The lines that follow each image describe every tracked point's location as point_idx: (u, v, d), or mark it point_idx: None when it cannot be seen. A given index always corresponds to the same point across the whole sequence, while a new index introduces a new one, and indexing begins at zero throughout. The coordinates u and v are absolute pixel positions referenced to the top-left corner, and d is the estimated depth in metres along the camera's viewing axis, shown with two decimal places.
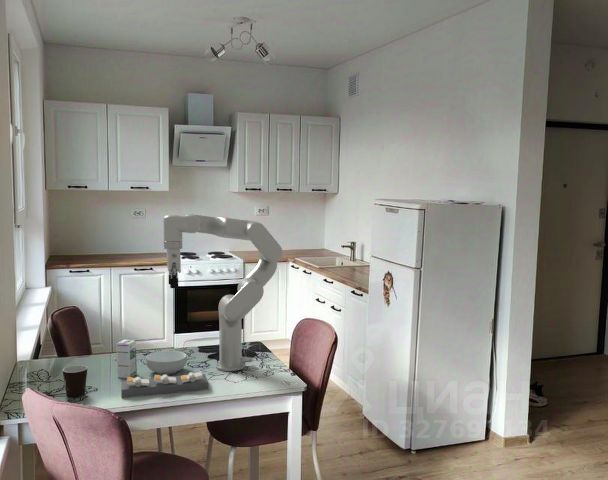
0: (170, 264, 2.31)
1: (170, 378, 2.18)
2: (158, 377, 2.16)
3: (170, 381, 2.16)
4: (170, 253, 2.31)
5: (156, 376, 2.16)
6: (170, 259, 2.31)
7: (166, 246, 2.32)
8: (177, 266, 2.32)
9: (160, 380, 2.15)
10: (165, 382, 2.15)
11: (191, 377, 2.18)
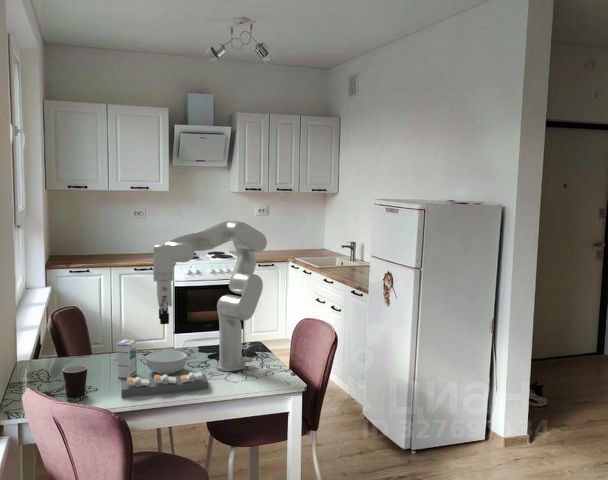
0: (160, 298, 2.13)
1: (170, 378, 2.18)
2: (158, 377, 2.16)
3: (170, 381, 2.16)
4: (160, 286, 2.14)
5: (156, 376, 2.16)
6: (160, 292, 2.13)
7: (156, 278, 2.15)
8: (168, 300, 2.14)
9: (160, 380, 2.15)
10: (165, 382, 2.15)
11: (191, 377, 2.18)
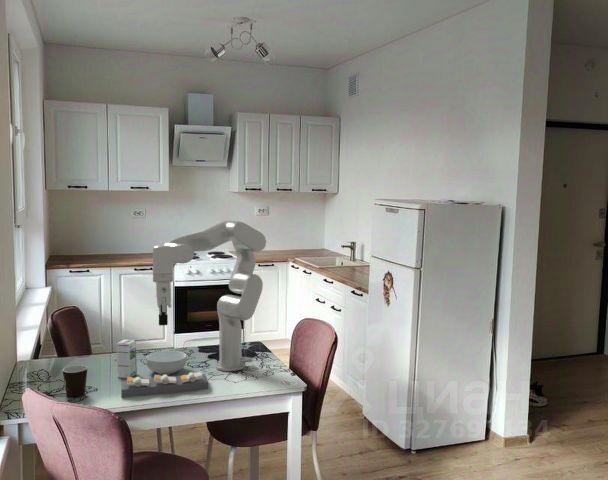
0: (159, 299, 2.13)
1: (170, 378, 2.18)
2: (158, 377, 2.16)
3: (170, 381, 2.16)
4: (159, 287, 2.13)
5: (156, 376, 2.16)
6: (159, 293, 2.13)
7: (155, 279, 2.14)
8: (167, 301, 2.14)
9: (160, 380, 2.15)
10: (165, 382, 2.15)
11: (191, 377, 2.18)
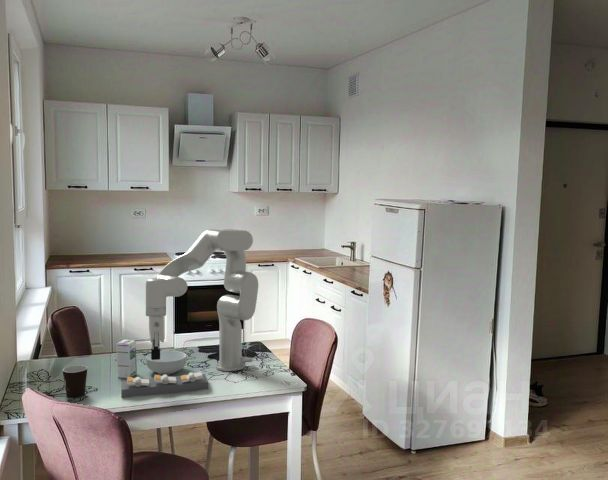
0: (152, 333, 2.09)
1: (170, 378, 2.18)
2: (158, 377, 2.16)
3: (170, 381, 2.16)
4: (152, 321, 2.10)
5: (156, 376, 2.16)
6: (152, 328, 2.09)
7: (148, 313, 2.11)
8: (160, 335, 2.10)
9: (160, 380, 2.15)
10: (165, 382, 2.15)
11: (191, 377, 2.18)
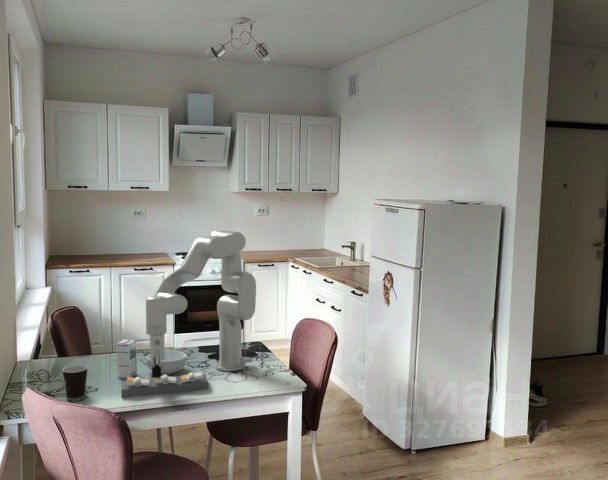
0: (153, 352, 2.10)
1: (170, 378, 2.18)
2: (158, 377, 2.16)
3: (170, 381, 2.16)
4: (153, 339, 2.10)
5: None
6: (153, 346, 2.10)
7: (148, 331, 2.12)
8: (160, 354, 2.11)
9: (160, 380, 2.15)
10: (165, 382, 2.15)
11: (191, 377, 2.18)
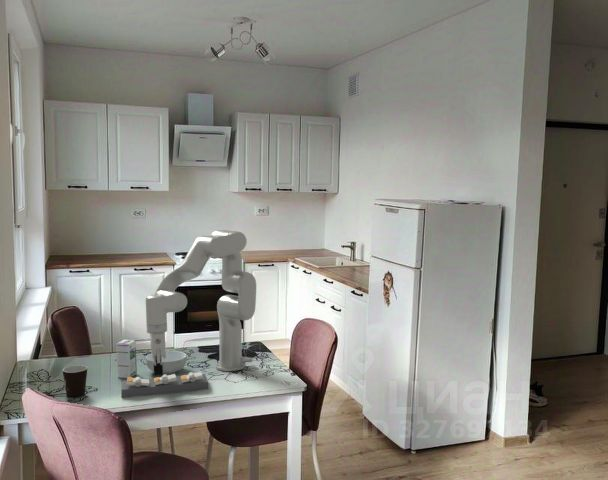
0: (154, 350, 2.11)
1: (170, 376, 2.18)
2: (157, 379, 2.16)
3: (170, 379, 2.16)
4: (153, 338, 2.11)
5: (155, 379, 2.17)
6: (154, 345, 2.11)
7: (149, 330, 2.12)
8: (161, 352, 2.11)
9: (160, 382, 2.15)
10: (165, 382, 2.15)
11: (191, 377, 2.18)
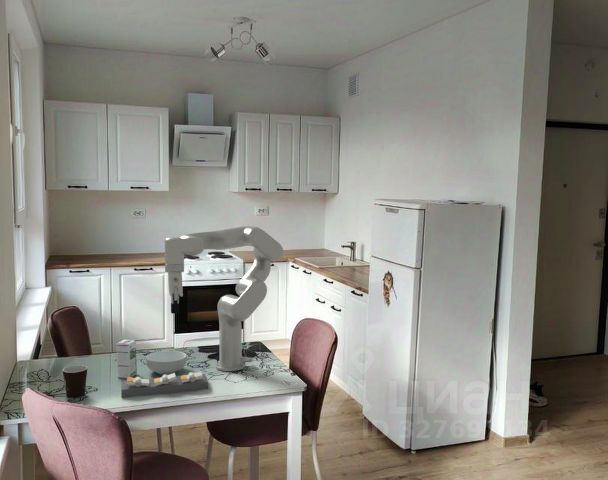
0: (172, 288, 2.24)
1: (169, 376, 2.18)
2: (157, 380, 2.16)
3: (170, 379, 2.16)
4: (172, 277, 2.24)
5: (155, 380, 2.17)
6: (172, 283, 2.24)
7: (167, 269, 2.25)
8: (179, 290, 2.25)
9: (160, 382, 2.15)
10: (166, 382, 2.15)
11: (191, 377, 2.18)
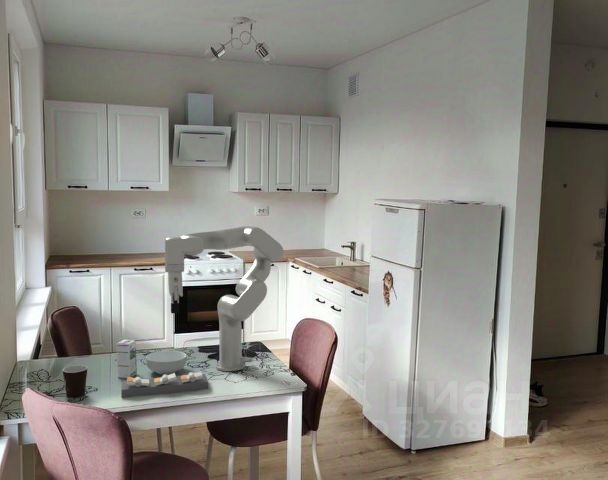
0: (172, 288, 2.24)
1: (169, 376, 2.18)
2: (157, 380, 2.16)
3: (170, 379, 2.16)
4: (172, 276, 2.24)
5: (155, 380, 2.17)
6: (172, 283, 2.24)
7: (167, 269, 2.25)
8: (179, 290, 2.25)
9: (160, 382, 2.15)
10: (166, 382, 2.15)
11: (191, 377, 2.18)
